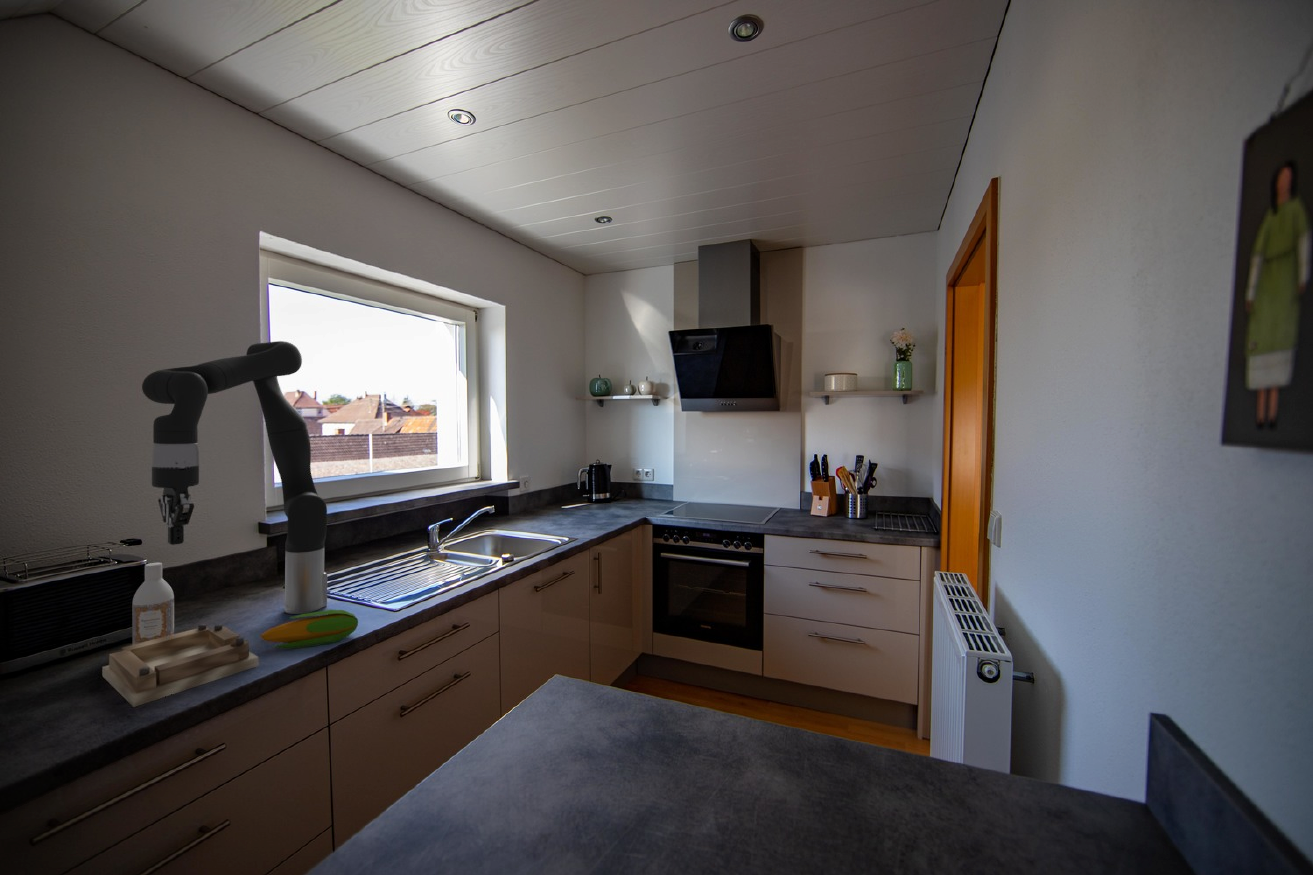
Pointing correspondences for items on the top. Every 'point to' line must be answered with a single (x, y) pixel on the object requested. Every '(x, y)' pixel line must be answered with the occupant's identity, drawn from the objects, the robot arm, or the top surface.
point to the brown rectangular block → (202, 662)
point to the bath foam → (152, 607)
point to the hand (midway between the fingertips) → (175, 543)
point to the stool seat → (138, 661)
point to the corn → (313, 629)
